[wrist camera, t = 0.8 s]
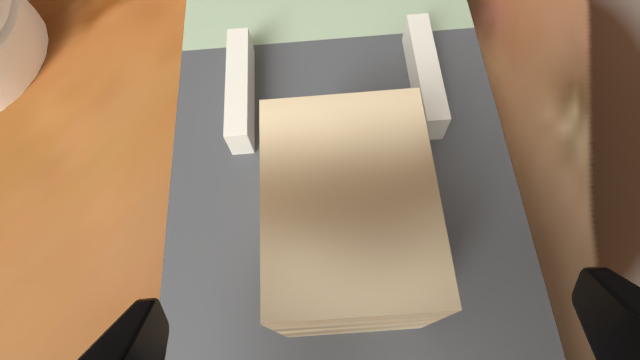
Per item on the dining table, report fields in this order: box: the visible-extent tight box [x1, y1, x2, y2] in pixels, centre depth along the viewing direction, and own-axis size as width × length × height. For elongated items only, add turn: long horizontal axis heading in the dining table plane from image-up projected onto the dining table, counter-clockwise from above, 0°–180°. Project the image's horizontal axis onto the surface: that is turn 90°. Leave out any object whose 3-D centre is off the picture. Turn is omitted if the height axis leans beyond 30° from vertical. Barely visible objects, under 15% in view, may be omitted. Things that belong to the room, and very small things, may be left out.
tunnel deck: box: [160, 0, 566, 360], centre depth 27 cm, size 47×18×6 cm, turn 3°
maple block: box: [259, 88, 462, 337], centre depth 17 cm, size 8×6×7 cm
